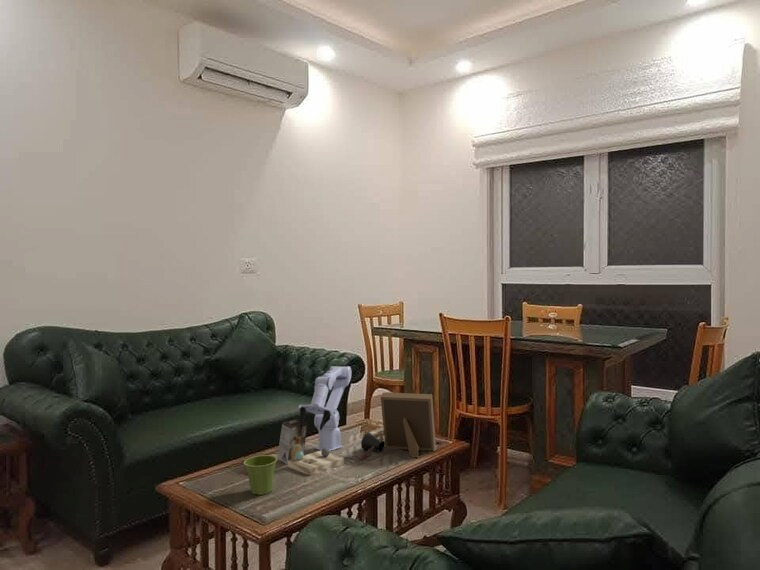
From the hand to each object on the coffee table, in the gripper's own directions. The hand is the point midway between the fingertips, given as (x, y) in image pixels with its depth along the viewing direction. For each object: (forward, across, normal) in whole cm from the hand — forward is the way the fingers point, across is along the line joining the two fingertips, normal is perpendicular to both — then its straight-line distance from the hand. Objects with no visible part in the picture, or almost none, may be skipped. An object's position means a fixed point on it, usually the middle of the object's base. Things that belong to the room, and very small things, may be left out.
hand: (311, 427), depth 227 cm
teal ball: (+9, -3, +7) cm, 12 cm away
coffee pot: (-2, +23, +18) cm, 29 cm away
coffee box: (+7, -8, +15) cm, 18 cm away
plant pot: (+33, -10, -6) cm, 35 cm away
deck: (+11, +4, +10) cm, 15 cm away
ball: (+5, +7, +9) cm, 12 cm away
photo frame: (-6, +41, +17) cm, 44 cm away
